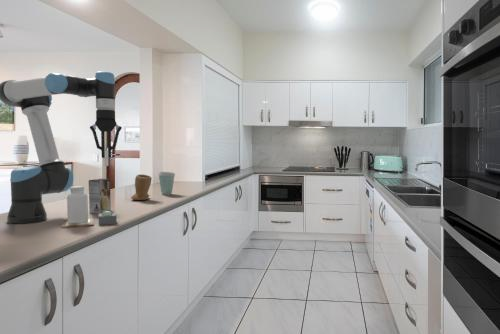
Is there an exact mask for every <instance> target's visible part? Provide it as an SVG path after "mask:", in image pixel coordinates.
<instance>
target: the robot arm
mask: <svg viewBox="0 0 500 334" xmlns="http://www.w3.org/2000/svg"><path fill="white" fill-rule="evenodd" d="M94 75H95V76H94V77H92V78H87V77H86V78H85V77H79V76H74V75H67V74H63V73H60V72H59V73H58V72H57V73H56V72H50V73H48V75H46V76H44V77H38V78H32V79H25V80H24V79H23V80H16V79H9V80H4V81H2V82H0V101H1V102H2V103H4V104H5V105H7V106H10V107H14V108H20V109H21V113H22V114H23V115H25V116H26V119H27V122H28V125H29V128H30V129H29V130H30V132H31V137H32V140H33V143H34V148H35V152H36V156H37V159H38V162H39V164H38V165H31V166H30V165H29V166H21V167H18V168H14V169H13V170H11V173H10V195H11V196H10V197H11V201H10V202H11V205H10V207H9V211H8V214H7V216H6V221H7V223H9V224H31V223H38V222H43V221H46V220H47V219H48V215H47V212H46V211H47V210H46V209H45V206H44V204H43V195H50V194H61V193H64V192H68V190H69V191H70V187H72V186H73V183H74V172H73V170H72V169H70V167H68V166H66V164H65V162H64V161H63V160H62V159H60V157H59V153H58V149H57V146H56V142H55V138H54V135H53V130H52V127H51V124H50V120H49V116H48V112H49V110H50V107H51V105H52V100H53V97H52V96H54V95H61V94H62V95H63V94H65V95H73V96H77V97H79V98H80V97H81V98H88V97H89V98H90V97H95V109H97V110H95V114H96V115H95V117H96V118H95V122H94V124H92V125H90V126H89V129H90V130H91V132H92V135H93V139H94V141H95V145H96V149H98V150H100V151H101V158H102V159H104V166H105V167H109V164H110V163H109V159H111V158H112V150H114V149H117V148H116V147H117V143H118V141H119V140H118V139H119V136H120V135H119V134H120V132H121V130H122V126H121V125H118V124H117V121H116V111H115V109H116V97H115V95H116V94H115V92H116V83H115V82H116V81H115V75H114V73H112V72H110V71H97V72H96V73H95V74H94ZM96 127H97V128H96ZM96 129H98V130H99V131H100V134H101V135H100V136H101V137H100V139H101V144H100V142H99V138H98V134H97V131H96ZM114 129H115V130H116V131H115V135H114V138H113V143H112V131H113V130H114ZM106 132H107V150H105V149H106V146H105V133H106ZM100 145H101V146H100Z"/></svg>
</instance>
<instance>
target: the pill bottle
mask: <svg viewBox="0 0 500 334" xmlns="http://www.w3.org/2000/svg"><path fill="white" fill-rule="evenodd" d="M69 191H70V193H68V194H67V197H66V200H67V201H66V202H67V204H66V205H67V206H66V207H67V209H66V210H67V220H68V223H73V224H78V223H85V222H87V221H88V219H89V195H88V194H87V192H85V187H84V186H83V185H75V186H73V185H72V186H71V187H70V189H69Z"/></svg>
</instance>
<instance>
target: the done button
mask: <svg viewBox="0 0 500 334" xmlns="http://www.w3.org/2000/svg"><path fill="white" fill-rule="evenodd" d="M111 213H112V211H111V210H109V211H104V212H103V216H106V215H111Z"/></svg>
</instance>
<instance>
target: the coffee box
mask: <svg viewBox="0 0 500 334" xmlns="http://www.w3.org/2000/svg"><path fill="white" fill-rule="evenodd" d="M111 207H112V203H111V178H95V179H89V180H88V213H90V214H102V213H103V212H104V211H111V210H112V208H111Z"/></svg>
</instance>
